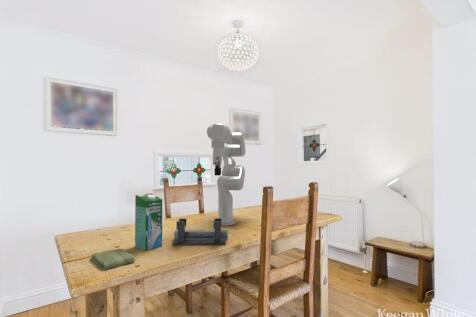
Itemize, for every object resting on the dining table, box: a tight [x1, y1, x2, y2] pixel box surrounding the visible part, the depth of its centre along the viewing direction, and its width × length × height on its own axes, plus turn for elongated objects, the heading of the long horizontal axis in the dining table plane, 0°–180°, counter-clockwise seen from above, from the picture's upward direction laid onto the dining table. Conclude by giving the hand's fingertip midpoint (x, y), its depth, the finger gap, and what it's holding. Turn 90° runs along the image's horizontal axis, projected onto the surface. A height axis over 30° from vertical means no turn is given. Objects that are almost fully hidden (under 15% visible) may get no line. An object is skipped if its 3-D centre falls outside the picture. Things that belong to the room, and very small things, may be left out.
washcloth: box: [90, 248, 136, 270], centre depth 109 cm, size 13×18×3 cm
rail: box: [173, 229, 229, 239], centre depth 139 cm, size 4×28×4 cm, turn 91°
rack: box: [171, 217, 227, 246], centre depth 132 cm, size 7×26×12 cm, turn 91°
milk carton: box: [134, 193, 163, 252], centre depth 127 cm, size 9×9×25 cm
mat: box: [173, 238, 228, 241], centre depth 139 cm, size 6×27×1 cm, turn 91°
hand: (217, 174), depth 152 cm, fingers open, 9 cm apart
